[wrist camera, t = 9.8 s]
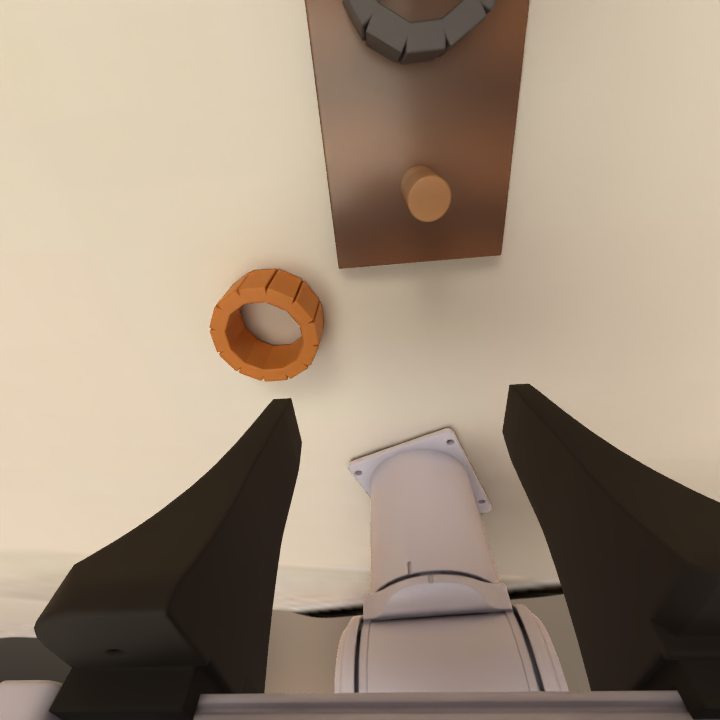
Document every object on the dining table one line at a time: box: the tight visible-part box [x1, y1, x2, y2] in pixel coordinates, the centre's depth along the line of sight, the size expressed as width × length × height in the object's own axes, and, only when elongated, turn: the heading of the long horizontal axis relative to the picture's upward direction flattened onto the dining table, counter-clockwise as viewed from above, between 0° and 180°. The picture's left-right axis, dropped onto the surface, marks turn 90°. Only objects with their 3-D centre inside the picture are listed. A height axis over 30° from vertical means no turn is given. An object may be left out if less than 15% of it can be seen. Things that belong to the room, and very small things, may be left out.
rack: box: [305, 0, 529, 269], centre depth 14 cm, size 14×8×4 cm, turn 5°
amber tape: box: [210, 269, 324, 381], centre depth 20 cm, size 5×5×3 cm
